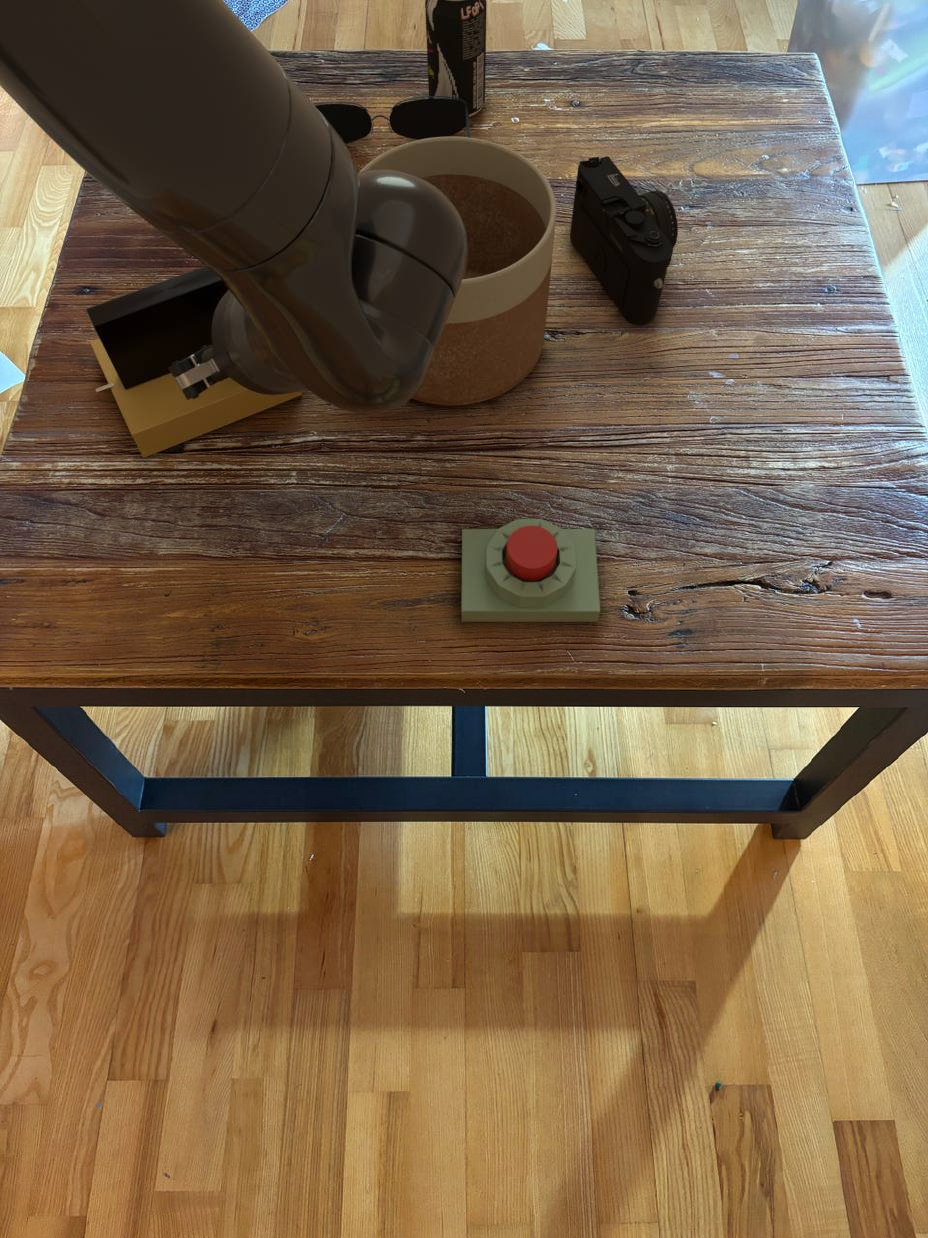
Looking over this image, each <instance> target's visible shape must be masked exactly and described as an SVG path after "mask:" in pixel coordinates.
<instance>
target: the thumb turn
mask: <svg viewBox="0 0 928 1238" xmlns="http://www.w3.org/2000/svg"><path fill="white" fill-rule="evenodd" d="M228 290H229V289H228V287H227V286H226V285H225V283H224V282H223V280H222V279H221V278H220V277H219V276H218V275H217V274H216V273H215V272H214V271H212V270H211V269H210V268H209V267H207V266H206V265H204V266H202V267H199V268H197V269H194V270H191V271H189V272H185V273H183V274H180V275H177V276H175V277H172V278H169V279H166V280H163V281H160V282H158V283H154V284H152V285H149V286H146V287H144V288H141V289H138V290H135V291H132V292H130V293H127V294H124V295H121V296H118V297H116V298H113V299H110V300H107V301H105V302H102V303H99V304H96V305H94V306H91V307H87V308H86V309H85V311H86V313H87V316H88V318H89V320H90V322H91V324H92V327H93V329H94V330H95V332H96V334H97V336H98V339H99V338H100V340H101V342H102V344H103V346H104V348H105V350H106V352H107V354H108V356H109V358H110V360H111V362H112V364H113V366H114V368H115V370H116V372H117V374H118V376H119V378H120V380H121V382H122V384H123V386H124V388H125V389H129V388H132V387H134V386H137V385H140V384H142V383H145V382H147V381H150V380H153V379H155V378H158V377H161V376H163V375H166V374H168V373H171V372H170V370H169V369H168V368H169V367H171V366H173V365H172V363H173V362H175V361H177V360H178V361H179V362H180V361H182V360H183V359H185V358H187V357H189V356H191V355H192V354H194V353H196V352H198V351H200V350H201V349H200V348H201V347H203V346H204V345H206V347H207V346H209V345H212V334H211V332H212V320H213V316H214V313H215V310H216V307H217V305H218V303H219V302H220V300H221V298H222V297H223V296H224V295H225V293H226V292H227V291H228Z"/></svg>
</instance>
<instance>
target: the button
mask: <svg viewBox="0 0 928 1238" xmlns="http://www.w3.org/2000/svg"><path fill="white" fill-rule="evenodd" d="M557 550H558V547H557V542H556V540H555V538H554V536H553V535H552V534H551V533H550V532H549V531H548V530H546V529H544V528H542V527H539V526H524V527H521V528H519V529H517V530H516V531H514V532H513V533H512V534H511V535H510V537H509V539H508V541H507V549H506V563H507V566H508V568H509V570H510V571H511V572H512V573H513V574H514V575H515V576H517V577H519V578H521V579H524V580H530V581H533V580H539V579H542V578H544V577H546V576H547V575H549V574H550V573H551V571H552V570H553V568H554V566H555V562H556V556H557Z"/></svg>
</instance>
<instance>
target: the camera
mask: <svg viewBox="0 0 928 1238" xmlns="http://www.w3.org/2000/svg"><path fill="white" fill-rule="evenodd" d="M678 235H679V226H678V218H677V214H676V209H675V208H674V204H673V203H672V200H671V199H670V198H669V197H668V195H667V194H666V193H665V192H663V191H661V190H658V189H656V190H650V191H648V192H645V193H641V194H639V193H638V191H636V189H635V188H634V187H633V185H632V184H631V183H630V182H629V181H628V179H627V178H626V177H625V175H624V174H623V173H622V172H621V170H620V169H619V168H618V167H617V165H616V164H615V162H614V161H613V160H612V159H611V158H610V156H608V155H606V156H604V157H599V156H593V157H590V158H588V160H579V164H578V166H577V175H576V181H575V190H574V197H573V205H572V215H571V222H570V231H569V239H570V242H571V243H572V244H573V246H574V247H575V248H576V250H577V252H578V253H579V255H580V256H581V258H582V259H583V261H584V262H585V263H586V265H587V266H588V268H589V269H590V270H591V271H592V273H593V275H594V276H595V278H596V279H597V280H598V281H599V283H600V284H601V286H602V288H604V290H605V292H606V293H607V294H608V296H609V297H610V298H611V300H612V302H613V303H614V304H615V305H616V307H617V308H618V310H619V311H620V313H621V314H622V315H623V317H624V318H625V319H626V320H627V321H628V322H630V323H632V324H635V325H645V324H650V322H652V321H653V320H654V319H655V318H656V315H657V313H658V309H659V306H660V305H659V304H660V301H661V295H662V293H663V288H664V284H665V279H666V276H667V270H668V267H669V266H670V264H671V261H672V258H673V253H674V248H675V245H676V244H677V240H678Z"/></svg>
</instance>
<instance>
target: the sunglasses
mask: <svg viewBox="0 0 928 1238" xmlns="http://www.w3.org/2000/svg"><path fill="white" fill-rule="evenodd" d="M430 97H443V98H433V99H429V98H430ZM444 98H452V99H444ZM454 99H457V100H454ZM458 100H459V101H458ZM312 103H313V104H314V106H315V107H316V108H317V109H318V110H319V111H320V112H321V113H322V115H323V116H324V117H325V118H326V119H327V121H328V122H329V123H330V124H331V125H332V127H333V128H334V129H335V130H336V132H337V133H338V134H339V136H340V137H341V138H342V140H343V141H344V143H345V144H349V143H354V142H357V141H359V140H362V139H364V138H365V137H367V136H369V135H370V133H371V135H372V134H373V131H374V126H375V123H374V122H373V121H374V120H375V119H376V118H384V119H385V120H387V125H388V128H389V131H390V133H391V134H392V133H395V134H396V135H398V136H401V137H403V138H407V139H411V140H421V139H427V138H434V137H453V136H455V135H456V134H458V133H459V132H461V131H462V130H464V128H466V137H468V138H472V134H471V127H470V119H469V118H470V117H469V109H468V107H467V106H466V104H467V103H466V102H465V101H463V100H462V99H459V98H455V97H448V96H429V95H428V96H419V97H411V98H407V99H403V100H400V101H398V102H396V103H395V104H394V105H393V106H392V108H391V109H390V110H389V112H390V111H391V112H390V113H389V118H388V117H387V116H385V115H383V114H377V115H375V116H374V117H371V114H370V111H369V110H368V109H367V108H366V107H364V106H363V105H361V104H359V103H357V102H352V101H351V102H349V101H319V102H312ZM464 103H465V104H464ZM388 121H389V122H388Z"/></svg>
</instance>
